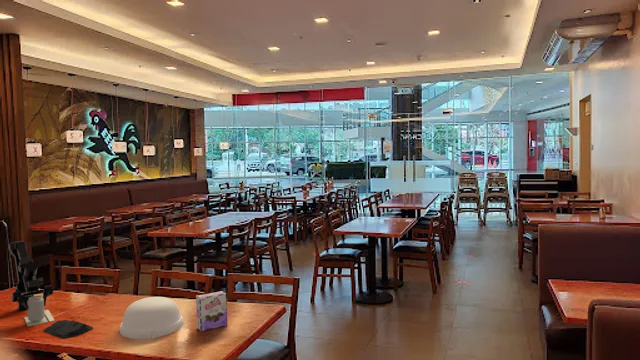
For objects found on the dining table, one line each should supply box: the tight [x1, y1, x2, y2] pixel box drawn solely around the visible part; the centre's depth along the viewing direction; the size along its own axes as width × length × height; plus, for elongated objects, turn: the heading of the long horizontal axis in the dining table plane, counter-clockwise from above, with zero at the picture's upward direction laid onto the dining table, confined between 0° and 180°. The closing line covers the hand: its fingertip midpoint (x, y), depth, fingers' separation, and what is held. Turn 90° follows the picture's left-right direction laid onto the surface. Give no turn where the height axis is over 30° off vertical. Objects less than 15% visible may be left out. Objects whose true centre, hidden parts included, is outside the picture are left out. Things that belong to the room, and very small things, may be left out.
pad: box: [24, 316, 49, 327], centre depth 255 cm, size 16×9×1 cm, turn 37°
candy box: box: [195, 290, 228, 332], centre depth 238 cm, size 14×6×16 cm, turn 122°
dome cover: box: [119, 296, 185, 340], centre depth 240 cm, size 32×30×14 cm
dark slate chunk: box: [42, 319, 94, 340], centre depth 239 cm, size 15×22×5 cm
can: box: [27, 295, 46, 322], centre depth 251 cm, size 8×8×12 cm
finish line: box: [44, 309, 56, 323], centre depth 261 cm, size 22×2×1 cm, turn 37°
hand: (36, 307), depth 250 cm, fingers open, 7 cm apart
